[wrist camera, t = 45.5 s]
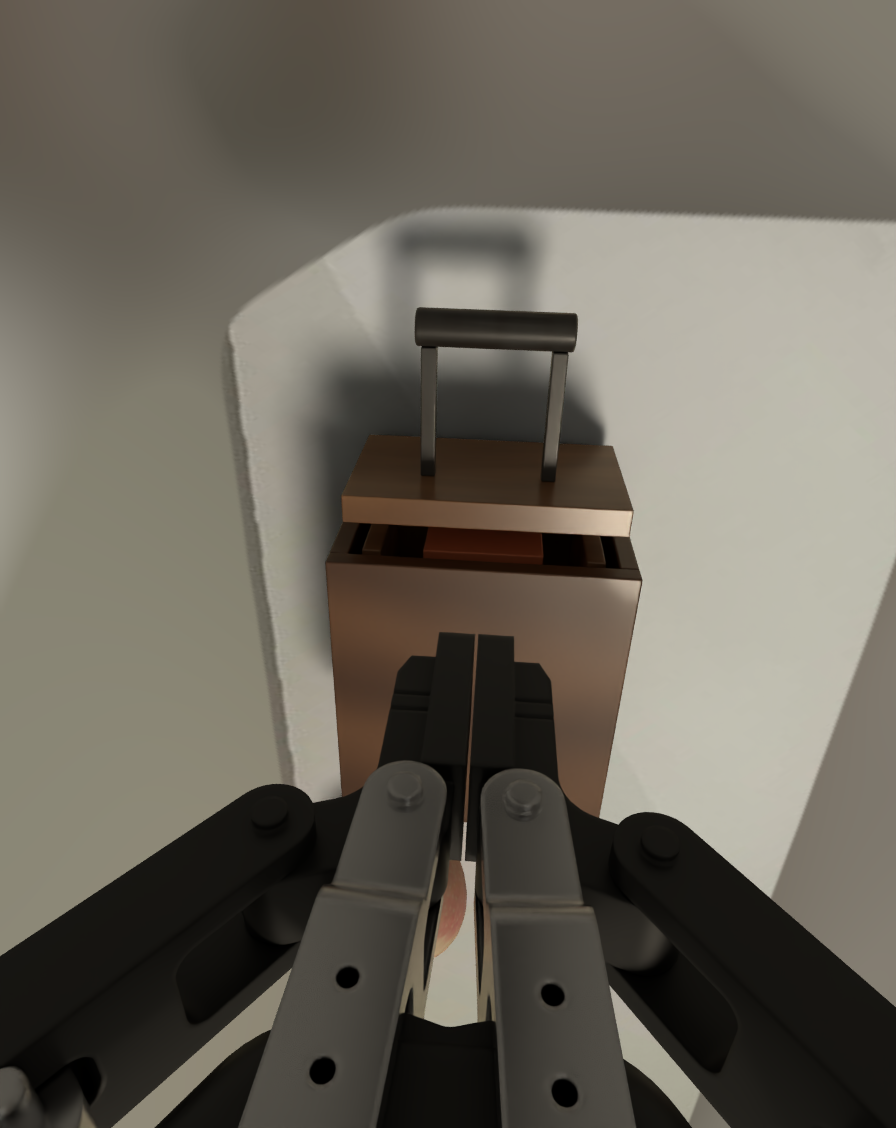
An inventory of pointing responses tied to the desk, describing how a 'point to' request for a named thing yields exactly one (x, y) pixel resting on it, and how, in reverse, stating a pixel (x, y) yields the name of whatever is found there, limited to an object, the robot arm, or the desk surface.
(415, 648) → the cabinet
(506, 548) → the block
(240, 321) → the desk surface
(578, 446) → the drawer
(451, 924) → the apple
